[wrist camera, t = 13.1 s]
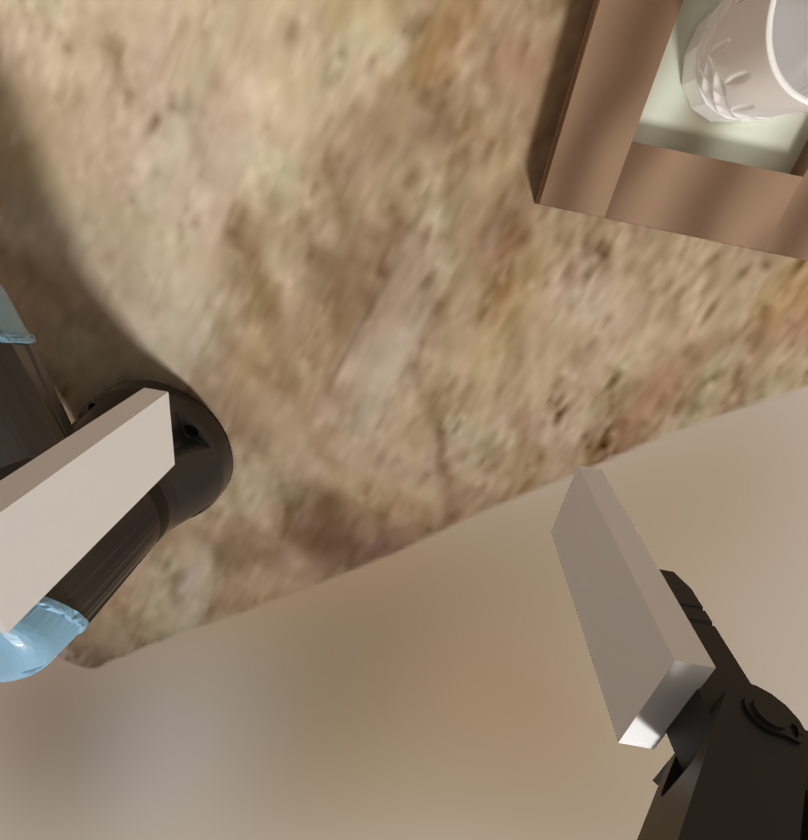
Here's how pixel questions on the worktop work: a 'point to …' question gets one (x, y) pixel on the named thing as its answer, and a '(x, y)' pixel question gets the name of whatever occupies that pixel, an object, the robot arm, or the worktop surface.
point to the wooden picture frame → (671, 140)
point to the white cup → (749, 61)
